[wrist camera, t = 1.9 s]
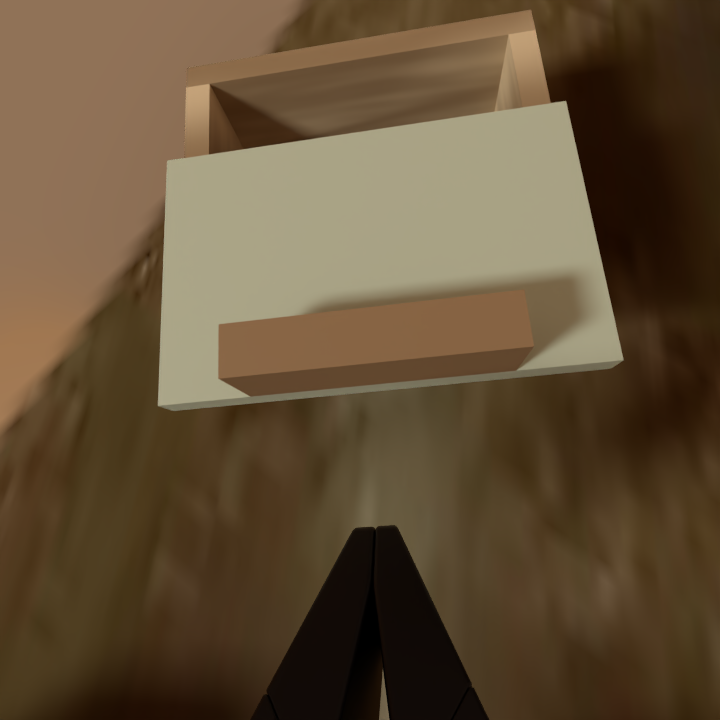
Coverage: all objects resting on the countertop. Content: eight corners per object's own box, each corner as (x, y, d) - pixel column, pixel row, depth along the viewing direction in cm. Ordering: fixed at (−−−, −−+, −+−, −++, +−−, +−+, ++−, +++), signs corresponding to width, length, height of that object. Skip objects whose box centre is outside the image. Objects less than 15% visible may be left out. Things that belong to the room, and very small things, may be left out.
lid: (610, 368, 15) (663, 333, 12) (173, 410, 17) (109, 390, 13) (558, 122, 18) (589, 34, 14) (180, 177, 19) (127, 109, 16)
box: (527, 301, 25) (574, 214, 17) (253, 332, 26) (181, 264, 18) (500, 147, 27) (531, 9, 19) (250, 182, 28) (186, 68, 21)
